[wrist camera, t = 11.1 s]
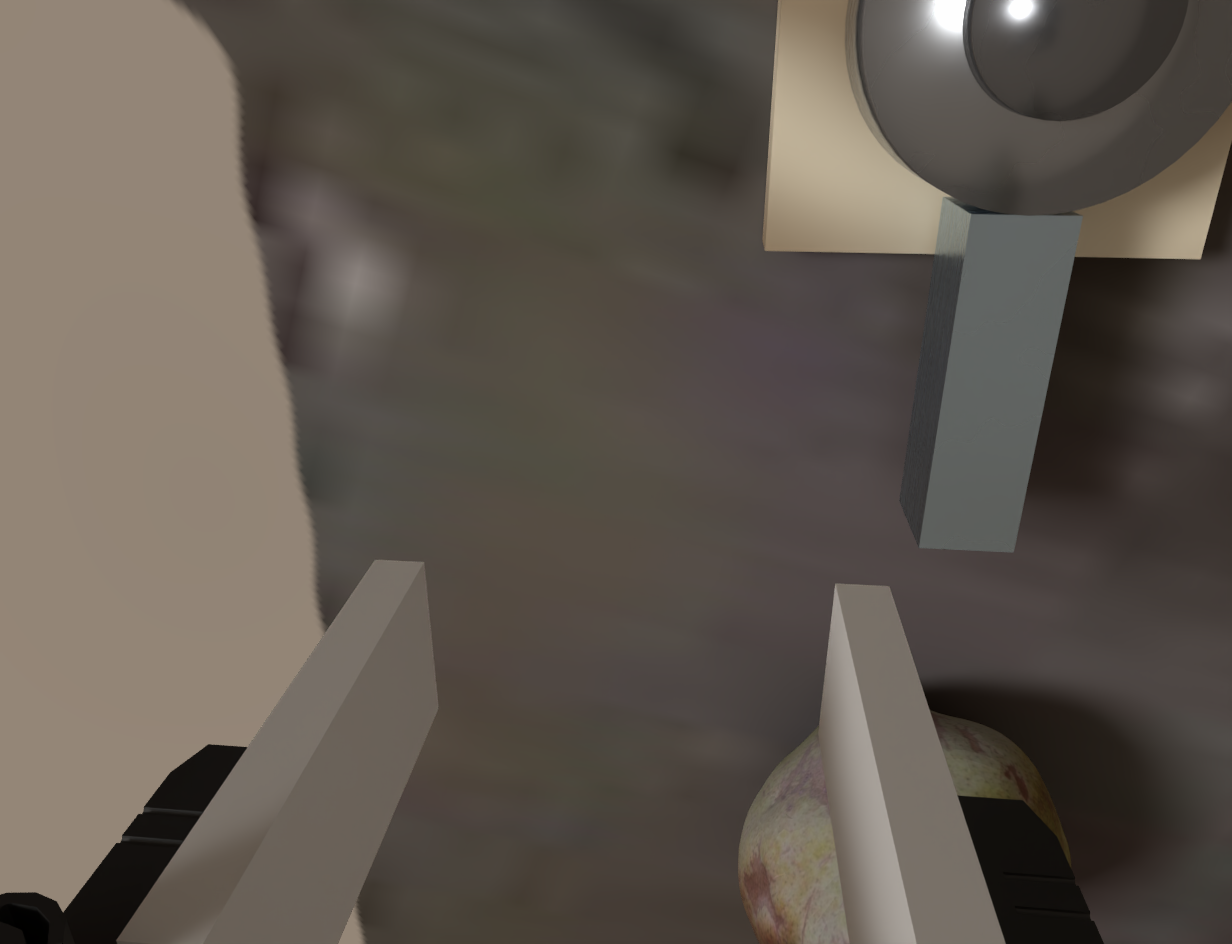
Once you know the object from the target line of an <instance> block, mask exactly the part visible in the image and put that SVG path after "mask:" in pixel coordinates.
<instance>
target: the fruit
mask: <svg viewBox="0 0 1232 944" xmlns="http://www.w3.org/2000/svg"><path fill="white" fill-rule="evenodd" d="M930 713H931V716H932V719H933V722H934V725H935V728H936V731H937V735H938V738H939V741H940V744H941V747H942V750H943V753H944V756H945V759H946V762H947V765H948V768H949V771H950V774H951V777H952V781H953V784H954V787H955V790H956V793H957V795H958V796H972V797H986V798H1000V799H1014V800H1023V801H1024V802H1025V803H1026V804H1027V805H1028V806H1029V807H1030V808H1031V809H1032V810H1033V811H1034V812H1035V814H1036V815H1037V816H1038V817H1039V818H1040V819H1041V820H1042V821H1043V822H1044V823H1045V824H1046V825H1047V826H1048V827H1049V829H1050V830H1051V831H1052V832H1053V833H1054V834H1055V835H1056V836H1057V838H1058V840H1059V842H1060V844H1061V847H1062V849H1063V851H1064V854H1065V856H1066V858H1067V861H1068V863H1069V865H1070V867H1071V857H1070V851H1069V846H1068V842H1067V840H1066V837H1065V835H1064V832H1063V829H1062V826H1061V823H1060V819H1059V817H1058V814H1057V812H1056V809H1055V807H1054V804H1053V802H1052V799H1051V797H1050V795H1049V792H1048V790H1047V788H1046V786H1045V784H1044V782H1043V780H1042V778H1041V776H1040V774H1039V773H1038V771H1037V769H1036V767H1035V766H1034V765H1033V763H1032V762H1031V761H1030V759H1029V758H1028V757H1027V756H1026V754H1025V753H1024V752H1023V751H1022V750H1021V749H1020V748H1019V747H1018V746H1017V745H1016V744H1015V743H1013V742H1012V741H1011V740H1010V739H1008V738H1007V737H1005V736H1004V735H1003V734H1001V733H999V732H998V731H996V730H994V729H991V728H989V727H987V726H985V725H982V724H979V723H976V722H973V721H969V720H965V719H961V718H957V717H952V716H948V715H944V714H940V713H937V712H934V711H931V710H930ZM818 730H819V726H818V727H817V728H816V729H815V730H814V731H813V732H812V733H811V734H810V735H809V736H808V737H807V738H806V739H805V740H804V741H803V742H802V743H801V744H800V745H799V746H798V747H797V748H796V749H795V750H794V751H792V752H791V753H790V754H789V755H788V756H786V757H785V758H784V759H783V760H782V761H781V762H780V763H779V764H778V765H777V767H776V768H775V769H774V771H773V772H772V773H771V775H770V776H769V777H768V779H767V780H766V782H765V784H764V786H763V787H762V788H761V790H760V791H759V793H758V794H757V796H756V798H755V800H754V801H753V803H752V805H751V807H750V809H749V811H748V814H747V817H746V820H745V823H744V827H743V831H742V835H741V840H740V845H739V860H738V876H739V887H740V892H741V897H742V901H743V904H744V907H745V910H746V913H747V915H748V918H749V920H750V923H751V925H752V928H753V930H754V933H755V935H756V938H757V940H758V941H759V943H760V944H850V943H849V936H848V929H847V923H846V916H845V909H844V903H843V896H842V889H841V883H840V876H839V869H838V863H837V856H836V849H835V843H834V836H833V829H832V823H831V816H830V809H829V803H828V796H827V789H826V783H825V776H824V769H823V763H822V756H821V749H820V743H819V736H818Z"/></svg>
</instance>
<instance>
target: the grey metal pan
mask: <svg viewBox="0 0 1232 944" xmlns="http://www.w3.org/2000/svg"><path fill="white" fill-rule="evenodd" d="M845 54H846V65H847V71H848V76H849V80H850V85H851V89H852V92H853V95H854V98H855V100H856V103H857V106H858V109H859V111H860V113H861V115H862V117H863V119H864V121H865V122H866V124H867V126H868V128H869V130H870V131H871V133H872V134H873V135H874V137H875V138H876V139H877V141H878V142H879V144H880V145H881V146H882V147H883V148H884V149H885V150H886V152H887V153H888V154H889V155H890V156H891V157H892V158H893V159H894V160H895V161H896V162H898V163H899V164H900V165H902V166H903V167H904V168H906V169H907V170H908V171H910V172H911V173H912V174H914V175H915V176H917V177H919V178H920V179H922V180H924V181H925V182H927V183H929V184H931V185H932V186H934V187H936V188H937V189H939V190H941V191H943V192H944V193H946V194H948V195H950V196H952V197H943V200H942V207H941V214H940V221H939V228H938V235H937V242H936V249H935V256H934V263H933V270H932V277H931V284H930V291H929V298H928V305H927V312H926V319H925V326H924V333H923V340H922V347H921V354H920V361H919V368H918V375H917V382H916V389H915V396H914V403H913V410H912V417H911V424H910V431H909V438H908V445H907V452H906V458H905V465H904V472H903V479H902V486H901V493H900V500H899V501H900V503H901V506H902V508H903V511H904V513H905V516H906V518H907V520H908V523H909V525H910V528H911V530H912V533H913V535H914V537H915V540H916V542H917V545H918V547H919V548H931V549H952V550H973V551H994V552H1014V549H1015V544H1016V539H1017V534H1018V529H1019V524H1020V519H1021V515H1022V510H1023V505H1024V500H1025V495H1026V490H1027V485H1028V481H1029V476H1030V471H1031V466H1032V461H1033V456H1034V451H1035V447H1036V442H1037V437H1038V432H1039V427H1040V422H1041V417H1042V413H1043V408H1044V403H1045V398H1046V393H1047V388H1048V383H1049V379H1050V374H1051V369H1052V364H1053V359H1054V354H1055V350H1056V345H1057V340H1058V335H1059V330H1060V325H1061V320H1062V316H1063V311H1064V306H1065V301H1066V296H1067V291H1068V286H1069V282H1070V277H1071V272H1072V267H1073V262H1074V257H1075V252H1076V248H1077V243H1078V238H1079V233H1080V228H1081V223H1082V218H1083V216H1082V215H1080V214H1077V213H1075V212H1073V211H1076V210H1080V209H1084V208H1087V207H1090V206H1094V205H1097V204H1100V203H1104V202H1106V201H1108V200H1111V199H1113V198H1115V197H1118V196H1120V195H1122V194H1125V193H1127V192H1129V191H1131V190H1133V189H1134V188H1136V187H1138V186H1140V185H1141V184H1143V183H1145V182H1147V181H1148V180H1150V179H1152V178H1154V177H1155V176H1156V175H1158V174H1159V173H1161V172H1162V171H1163V170H1165V169H1166V168H1168V167H1169V166H1170V165H1172V164H1173V163H1175V162H1176V161H1177V160H1178V159H1179V158H1180V157H1182V156H1183V155H1184V154H1185V153H1186V152H1187V151H1188V150H1189V149H1191V148H1192V147H1193V146H1194V145H1195V144H1196V143H1197V142H1198V141H1199V140H1200V139H1201V138H1202V137H1203V136H1204V135H1205V134H1206V133H1207V132H1208V130H1209V129H1210V128H1211V127H1212V126H1213V125H1214V124H1215V123H1216V122H1217V121H1218V119H1219V118H1220V117H1221V115H1222V114H1223V113H1224V111H1225V110H1226V109H1227V107H1228V106H1229V105H1230V103H1231V102H1232V0H848V6H847V13H846V19H845Z"/></svg>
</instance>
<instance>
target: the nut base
mask: <svg viewBox="0 0 1232 944" xmlns="http://www.w3.org/2000/svg"><path fill="white" fill-rule="evenodd" d="M847 6H848V0H778V12H777V28H776V43H775V58H774V73H773V89H772V104H771V119H770V134H769V150H768V165H767V180H766V195H765V211H764V226H763V244H764V248H765V251H800V252H851V253H903V254H935V249H936V242H937V235H938V228H939V221H940V214H941V207H942V200H943V197H952V196H950V195H948V194H946V193H944V192H943V191H941V190H939V189H937V188H936V187H934V186H932V185H931V184H929V183H927V182H925V181H924V180H922V179H920V178H919V177H917V176H915V175H914V174H912V173H911V172H910V171H908V170H907V169H906V168H904V167H903V166H902V165H900V164H899V163H898V162H896V161H895V160H894V159H893V158H892V157H891V156H890V155H889V154H888V153H887V152H886V150H885V149H884V148H883V147H882V146H881V145H880V144H879V142H878V141H877V139H876V138H875V137H874V135H873V134H872V133H871V131H870V130H869V128H868V126H867V124H866V122H865V121H864V119H863V117H862V115H861V113H860V111H859V109H858V106H857V103H856V100H855V98H854V95H853V92H852V89H851V85H850V80H849V76H848V71H847V65H846V54H845V19H846V13H847ZM1231 142H1232V102H1231V103H1230V105H1229V106H1228V107H1227V109H1226V110H1225V111H1224V113H1223V114H1222V115H1221V117H1220V118H1219V119H1218V121H1217V122H1216V123H1215V124H1214V125H1213V126H1212V127H1211V128H1210V129H1209V130H1208V132H1207V133H1206V134H1205V135H1204V136H1203V137H1202V138H1201V139H1200V140H1199V141H1198V142H1197V143H1196V144H1195V145H1194V146H1193V147H1192V148H1191V149H1189V150H1188V151H1187V152H1186V153H1185V154H1184V155H1183V156H1182V157H1180V158H1179V159H1178V160H1177V161H1176V162H1175V163H1173V164H1172V165H1170V166H1169V167H1168V168H1166V169H1165V170H1163V171H1162V172H1161V173H1159V174H1158V175H1156V176H1155V177H1154V178H1152V179H1150V180H1148V181H1147V182H1145V183H1143V184H1141V185H1140V186H1138V187H1136V188H1134V189H1133V190H1131V191H1129V192H1127V193H1125V194H1122V195H1120V196H1118V197H1115V198H1113V199H1111V200H1108V201H1106V202H1104V203H1100V204H1097V205H1094V206H1090V207H1087V208H1084V209H1080V210H1076V211H1073V212H1075V213H1077V214H1080V215H1082V216H1083V218H1082V223H1081V228H1080V233H1079V238H1078V243H1077V248H1076V252H1075V257H1110V258H1162V259H1201V256H1202V252H1203V248H1204V245H1205V241H1206V237H1207V233H1208V229H1209V225H1210V222H1211V218H1212V214H1213V210H1214V206H1215V203H1216V199H1217V195H1218V191H1219V187H1220V184H1221V180H1222V176H1223V172H1224V168H1225V165H1226V161H1227V157H1228V153H1229V149H1230V146H1231Z"/></svg>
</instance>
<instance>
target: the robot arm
mask: <svg viewBox="0 0 1232 944" xmlns="http://www.w3.org/2000/svg"><path fill="white" fill-rule="evenodd" d="M438 708H439V707H438V697H437V687H436V677H435V667H434V657H433V647H432V637H431V627H430V617H429V606H428V596H427V586H426V576H425V566H424V562H410V561H390V560H375V561H374V562H373V564H372V565H371V567H370V568H369V569H368V571H367V572H366V574H365V575H364V577H363V578H362V580H361V581H360V583H359V584H358V586H357V587H356V589H355V590H354V592H353V593H352V594H351V596H350V597H349V599H348V600H347V602H346V603H345V605H344V606H343V608H342V609H341V611H340V612H339V614H338V615H337V617H336V618H335V619H334V621H333V622H332V624H331V625H330V627H329V628H328V630H327V631H326V633H325V634H324V636H323V637H322V639H321V640H320V642H319V643H318V644H317V646H316V648H315V649H314V651H313V652H312V653H311V655H310V656H309V658H308V659H307V661H306V662H305V664H304V665H303V667H302V668H301V670H300V671H299V672H298V674H297V675H296V677H295V678H294V680H293V681H292V683H291V684H290V686H289V687H288V689H287V690H286V692H285V693H284V695H283V696H282V697H281V699H280V700H279V702H278V704H277V705H276V706H275V708H274V709H273V711H272V712H271V714H270V715H269V717H268V718H267V719H266V721H265V722H264V724H263V725H262V727H261V728H260V730H259V731H258V733H257V734H256V736H255V737H254V739H253V740H252V742H251V743H250V744H249V746H248V747H237V746H224V745H223V746H222V745H210V744H209V745H207V746H206V747H204V748H203V749H202V750H200V751H199V752H198V753H196V754H195V755H193V756H192V757H191V758H190V759H188V760H187V761H185V762H184V763H183V764H181V765H180V766H179V767H177V768H176V769H175V770H173V771H172V772H170V774H169V775H168V776H167V778H166V779H165V780H164V781H163V783H162V784H161V785H160V787H159V788H158V789H157V791H156V792H155V793H154V794H153V796H152V797H151V798H150V800H149V801H148V802H147V804H146V805H145V806H144V812H143V813H142V814H138V815H137V817H136V818H135V819H134V821H133V822H132V823H131V825H130V826H129V827H128V829H127V830H126V831H125V832H124V834H123V835H122V841H121V843H116V844H115V846H114V847H113V848H112V849H111V851H110V852H109V853H108V855H107V856H106V857H105V859H104V860H103V861H102V863H101V864H100V865H99V866H98V868H97V869H96V870H95V872H94V873H93V874H92V876H91V877H90V878H89V880H88V881H87V882H86V883H85V885H84V886H83V887H82V889H81V890H80V891H79V893H78V894H77V895H76V897H75V898H74V899H73V901H72V902H71V903H70V904H69V906H68V907H67V908H66V910H65V911H64V912H62V911H61V909H60V907H59V905H58V903H57V902H56V901H54V900H52V899H50V898H47V897H45V896H43V895H41V894H38V893H5V894H1V895H0V944H338V943H339V940H340V938H341V935H342V933H343V931H344V928H345V926H346V924H347V921H348V919H349V917H350V914H351V912H352V910H353V907H354V905H355V903H356V900H357V898H358V896H359V893H360V891H361V889H362V886H363V884H364V882H365V879H366V877H367V875H368V872H369V870H370V868H371V865H372V863H373V861H374V858H375V856H376V854H377V851H378V849H379V847H380V844H381V842H382V840H383V837H384V835H385V833H386V830H387V828H388V825H389V823H390V821H391V818H392V816H393V814H394V811H395V809H396V807H397V804H398V802H399V800H400V797H401V795H402V793H403V790H404V788H405V786H406V783H407V781H408V779H409V776H410V774H411V772H412V769H413V767H414V765H415V762H416V760H417V758H418V755H419V753H420V751H421V748H422V746H423V744H424V741H425V739H426V737H427V734H428V732H429V730H430V727H431V725H432V723H433V720H434V718H435V715H436V713H437V711H438ZM818 736H819V743H820V749H821V756H822V763H823V769H824V776H825V783H826V789H827V796H828V803H829V809H830V816H831V823H832V829H833V836H834V843H835V849H836V856H837V863H838V869H839V876H840V883H841V889H842V896H843V903H844V909H845V916H846V923H847V929H848V936H849V943H850V944H1104V943H1103V941H1102V938H1101V936H1100V934H1099V932H1098V929H1097V927H1096V925H1095V922H1094V921H1091V919H1090V911H1089V909H1088V906H1087V904H1086V902H1085V899H1084V897H1083V895H1082V893H1081V890H1080V888H1079V886H1076V885H1075V877H1074V874H1073V872H1072V870H1071V867H1070V865H1069V863H1068V861H1067V858H1066V856H1065V854H1064V851H1063V849H1062V847H1061V844H1060V842H1059V840H1058V838H1057V836H1056V835H1055V834H1054V833H1053V832H1052V831H1051V830H1050V829H1049V827H1048V826H1047V825H1046V824H1045V823H1044V822H1043V821H1042V820H1041V819H1040V818H1039V817H1038V816H1037V815H1036V814H1035V812H1034V811H1033V810H1032V809H1031V808H1030V807H1029V806H1028V805H1027V804H1026V803H1025V802H1024V801H1023V800H1014V799H1000V798H986V797H972V796H958V795H957V793H956V790H955V787H954V784H953V781H952V777H951V774H950V771H949V768H948V765H947V762H946V759H945V756H944V753H943V750H942V747H941V744H940V741H939V738H938V735H937V731H936V728H935V725H934V722H933V719H932V716H931V713H930V710H929V707H928V704H927V701H926V698H925V695H924V692H923V688H922V685H921V682H920V679H919V676H918V673H917V670H916V667H915V664H914V661H913V658H912V655H911V652H910V649H909V646H908V642H907V639H906V636H905V633H904V630H903V627H902V624H901V621H900V618H899V615H898V612H897V609H896V606H895V603H894V600H893V596H892V593H891V590H890V587H889V586H873V585H854V584H835V592H834V601H833V609H832V618H831V627H830V635H829V644H828V653H827V661H826V670H825V679H824V687H823V696H822V704H821V713H820V722H819V730H818Z"/></svg>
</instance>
